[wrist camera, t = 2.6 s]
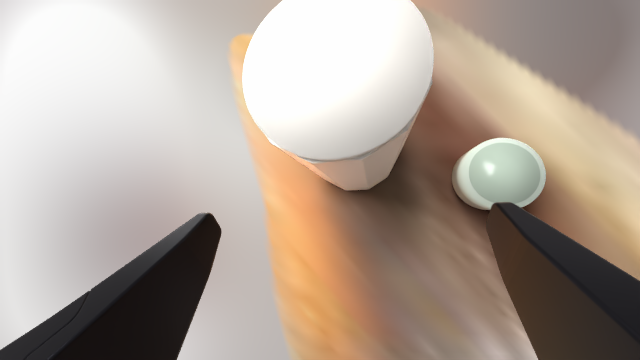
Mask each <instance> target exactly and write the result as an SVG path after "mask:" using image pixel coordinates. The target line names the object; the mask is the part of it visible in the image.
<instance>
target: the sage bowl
mask: <svg viewBox="0 0 640 360" xmlns="http://www.w3.org/2000/svg"><path fill="white" fill-rule="evenodd" d="M545 180H546V171H545V167H544V164H543V161H542V160H541V158H540V156H539V155H538V154H537V153H536V152H535V151H534V150H533V149H532V148H531V147H530V146H528V145H526V144H525V143H523V142H520V141H518V140H514V139H509V138H496V139H491V140H488V141H485V142H483V143H481V144H479V145H478V146H476V147H475V148H473V149H471V150H470V151H468V152H467V153H465V154H464V155H462V156H461V157H460V158H459V159H458V160H457V162H456V163H455V165H454V168H453V171H452V184H453V187H454V190H455V192H456V193H457V195H458V196H459V197H460V198H461V199H462V200H463V201H464V202H465V203H467V204H468V205H470V206H472V207H475V208H478V209H482V210H490V209H491V206H492V204H493V203H495V202H512V203H514V204H516V205H517V206H519V207H520V208H521V207H524V206H526V205H528V204H530V203H531V202H532V201H534V200H535V199H536V198H537V197H538V196H539V194H540V193H541V191H542V190H543V187H544V185H545Z"/></svg>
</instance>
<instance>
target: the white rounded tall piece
mask: <svg viewBox="0 0 640 360" xmlns="http://www.w3.org/2000/svg"><path fill="white" fill-rule="evenodd" d="M433 63H434V53H433V44H432V38H431V34H430V31H429V28H428V26H427V23H426V22H425V20H424V18H423V16H422V14H421V13H420V11H419V10H418V9H417V7H416V6H415V5H414V4H413V3H412V2H411V1H410V0H283V1H282V2H281V3H279V4H278V5H277V6H276V7H275V8H274V9H273V10H272V11H271V12H270V13H269V14H268V15H267V16H266V18H265V19H264V20H263V22H262V23H261V24H260V25H259V27H258V29H257V30H256V32H255V34H254V35H253V38H252V40H251V42H250V44H249V47H248V50H247V53H246V56H245V61H244V66H243V77H242V80H243V92H244V97H245V101H246V104H247V107H248V110H249V112H250V114H251V116H252V118H253V120H254V121H255V123H256V124H257V126H258V127H259V128H260V130H261V131H262V132H263V133H264V134H265V135H266V136H267V138H268V139H269V141H270V143H271V144H273V145H274V146H276V147H277V148H279V149H280V150H282V151H283V152H285V153H286V154H287V155H289V156H290V157H292V158H293V159H295V160H296V161H298V162H299V163H301V164H302V165H304V166H305V167H307V168H308V169H310V170H311V171H313V172H314V173H316V174H317V175H319V176H320V177H322V178H323V179H325V180H326V181H328V182H330V183H332V184H334V185H336V186H338V187H340V188H342V189H344V190H346V191H348V190H367V189H370V188H371V187H373V186H375V185H376V184H378V183H379V182H381V181H382V180H384V179H386V178H387V177H388V176H389V174H390V172H391V170H392V168H393V166H394V164H395V162H396V160H397V158H398V156H399V154H400V152H401V150H402V148H403V145H404V143H405V141H406V139H407V137H408V135H409V132H410V130H411V128H412V126H413V124H414V122H415V119H416V117H417V115H418V113H419V111H420V109H421V107H422V104H423V102H424V100H425V98H426V96H427V94H428V91H429V89H430V87H431V85H432V71H433Z"/></svg>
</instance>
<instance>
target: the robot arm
mask: <svg viewBox="0 0 640 360" xmlns="http://www.w3.org/2000/svg"><path fill="white" fill-rule="evenodd" d="M486 229H487V232H488V235H489V239H490V242H491V245H492V248H493V251H494V254H495V258H496V261H497V264H498V267H499V270H500V273H501V276H502V279H503V281H504V284H505V286H506V289H507V291H508V293H509V295H510V297H511V300H512V302H513V304H514V306H515V309H516V311H517V313H518V315H519V317H520V320H521V322H522V324H523V326H524V328H525V331H526V333H527V335H528V337H529V340H530V342H531V344H532V346H533V348H534V351H535V353H536V355H537V357H538V360H640V281H639V280H637V279H636V278H634V277H633V276H631V275H629V274H628V273H626V272H624V271H623V270H621V269H620V268H618V267H616V266H615V265H613V264H611V263H610V262H608V261H607V260H605V259H603V258H602V257H600V256H598V255H597V254H595V253H594V252H592V251H590V250H589V249H587V248H585V247H584V246H582V245H581V244H579V243H577V242H576V241H574V240H572V239H571V238H569V237H568V236H566V235H564V234H563V233H561V232H559V231H558V230H556V229H555V228H553V227H551V226H550V225H548V224H546V223H545V222H543V221H542V220H540V219H538V218H537V217H535V216H533V215H532V214H530V213H529V212H527V211H525V210H524V209H522V208H520V207H519V206H517V205H516V204H514V203H512V202H495V203H493V204H492V206H491V209H490V212H489V215H488V218H487V222H486ZM220 237H221V228H220V226H219V224H218V223H217V221H216V219H215V218H214V216H213V215H212V214H211V213H200V214H198V215H196V216H195V217H193V218H192V219H190V220H189V221H188V222H186V223H185V224H183V225H182V226H180V227H179V228H178V229H176V230H175V231H173V232H172V233H170V234H169V235H168V236H166V237H165V238H164V239H162V240H161V241H160V242H158V243H156V244H155V245H153V246H152V247H151V248H149V249H148V250H146V251H145V252H143V253H142V254H141V255H139V256H138V257H136V258H135V259H134V260H132V261H131V262H129V263H128V264H126V265H125V266H124V267H122V268H121V269H119V270H118V271H116V272H115V273H114V274H112V275H111V276H109V277H108V278H106V279H105V280H104V281H102V282H101V283H99V284H98V285H97V286H95V287H94V288H92V289H91V291H88V292H87V293H85V294H84V295H82V296H81V297H80V298H78V299H77V300H75V301H74V302H72V303H71V304H69V305H68V306H66V307H65V308H64V309H62V310H61V311H59V312H58V313H56V314H55V315H53V316H52V317H50V318H49V319H47V320H46V321H44V322H43V323H41V324H40V325H38V326H37V327H35V328H34V329H32V330H30V331H29V332H27V333H26V334H25V335H23V336H21V337H20V338H18V339H17V340H15V341H14V342H12V343H10V344H9V345H7V346H6V347H4V348H3V349H1V350H0V360H177V357H178V355H179V352H180V350H181V347H182V344H183V342H184V339H185V337H186V334H187V332H188V329H189V327H190V324H191V322H192V319H193V316H194V314H195V311H196V309H197V306H198V304H199V301H200V299H201V296H202V293H203V291H204V288H205V286H206V283H207V281H208V278H209V275H210V272H211V268H212V265H213V262H214V258H215V255H216V251H217V247H218V244H219V240H220Z"/></svg>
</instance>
